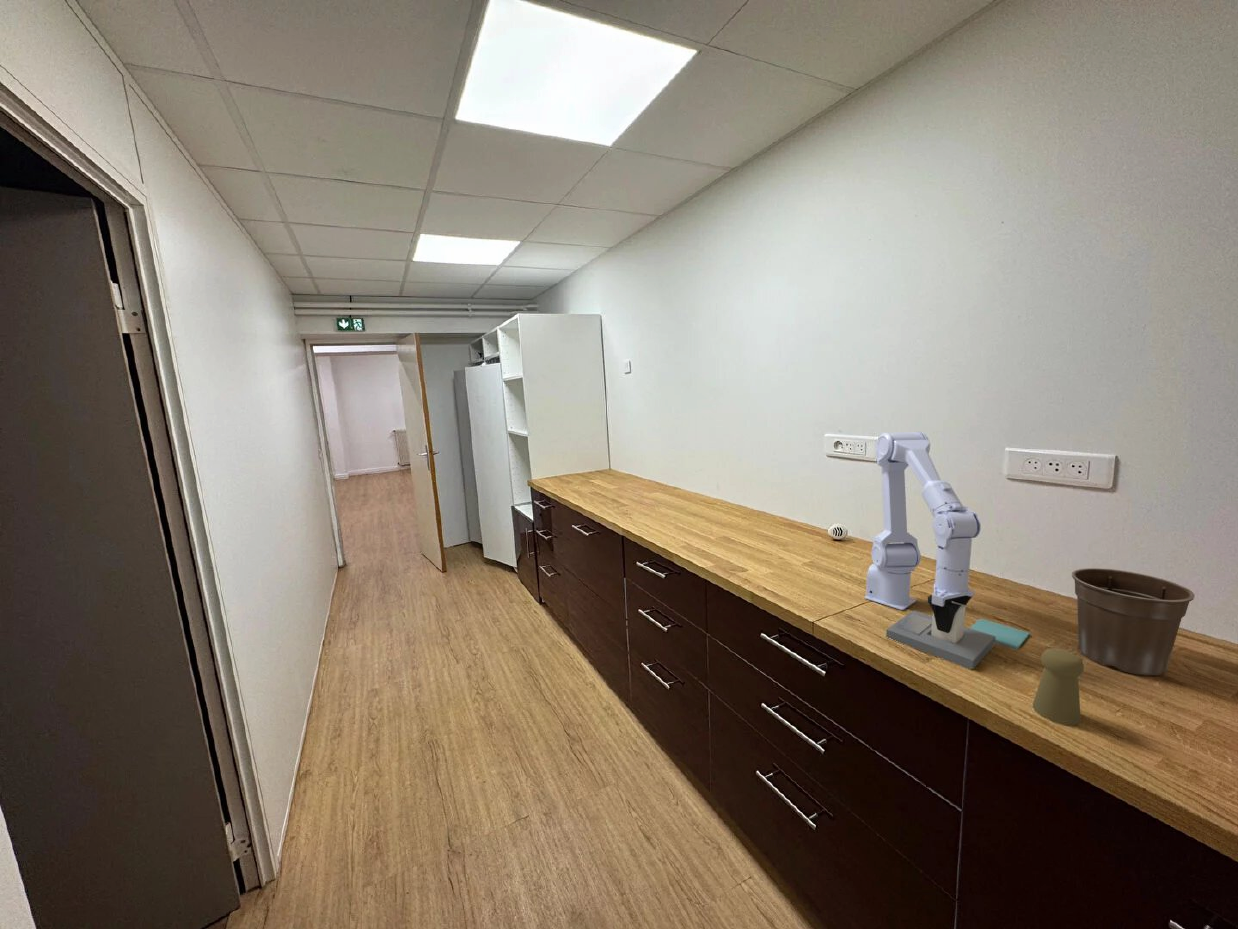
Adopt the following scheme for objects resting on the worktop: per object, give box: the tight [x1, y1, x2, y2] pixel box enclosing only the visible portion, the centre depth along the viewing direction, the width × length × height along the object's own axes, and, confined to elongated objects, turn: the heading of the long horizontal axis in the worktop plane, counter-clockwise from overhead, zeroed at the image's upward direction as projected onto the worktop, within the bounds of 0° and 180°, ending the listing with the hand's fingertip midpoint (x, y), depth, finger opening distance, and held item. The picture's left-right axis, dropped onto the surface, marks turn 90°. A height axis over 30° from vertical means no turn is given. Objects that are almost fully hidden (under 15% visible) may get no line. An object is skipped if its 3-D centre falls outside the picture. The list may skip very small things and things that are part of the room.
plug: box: [931, 601, 967, 644], centre depth 101 cm, size 4×4×8 cm
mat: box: [969, 618, 1030, 650], centre depth 105 cm, size 9×9×1 cm
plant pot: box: [1071, 567, 1196, 676], centre depth 93 cm, size 16×16×16 cm
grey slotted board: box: [885, 610, 996, 670], centre depth 102 cm, size 16×14×2 cm
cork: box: [1032, 648, 1085, 727], centre depth 79 cm, size 6×6×11 cm
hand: (947, 627), depth 101 cm, fingers closed on plug, 4 cm apart
